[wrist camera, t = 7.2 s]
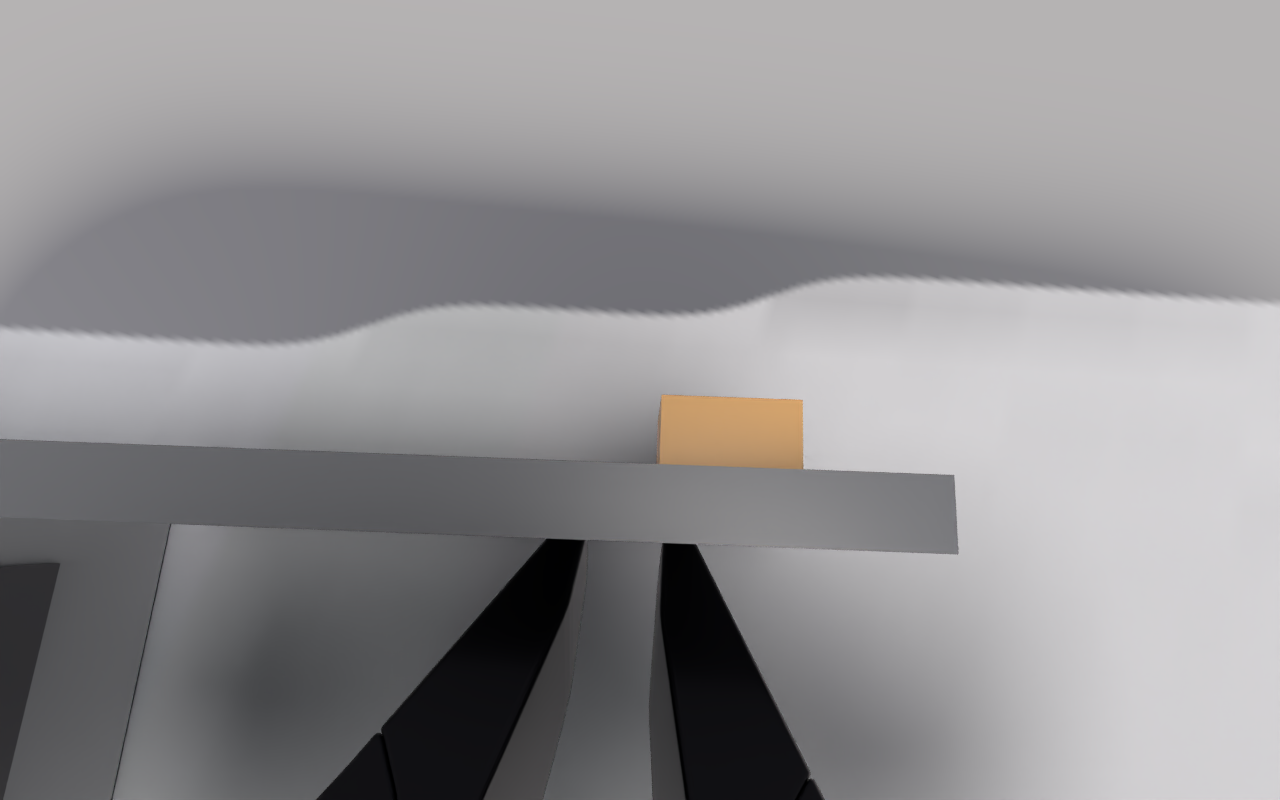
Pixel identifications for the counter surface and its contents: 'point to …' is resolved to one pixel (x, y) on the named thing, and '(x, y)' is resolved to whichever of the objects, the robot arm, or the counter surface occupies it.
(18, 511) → the side door
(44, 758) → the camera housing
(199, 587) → the counter surface
